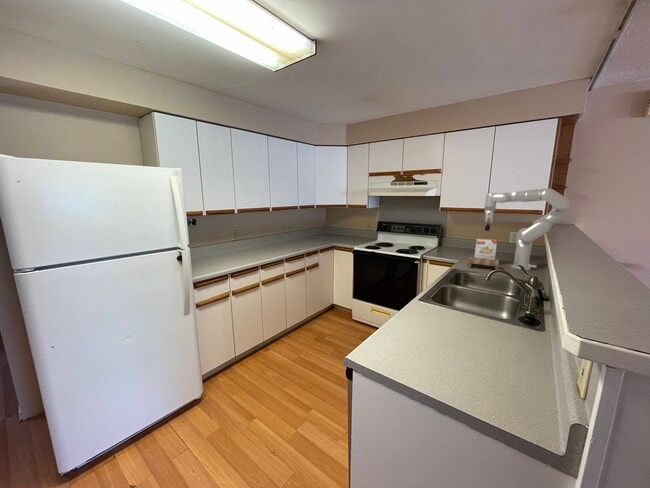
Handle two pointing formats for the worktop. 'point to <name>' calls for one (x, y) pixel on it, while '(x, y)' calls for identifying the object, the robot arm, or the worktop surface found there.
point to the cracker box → (485, 248)
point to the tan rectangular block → (483, 262)
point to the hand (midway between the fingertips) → (487, 230)
